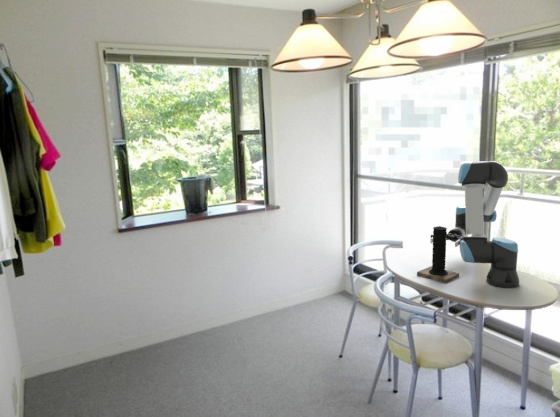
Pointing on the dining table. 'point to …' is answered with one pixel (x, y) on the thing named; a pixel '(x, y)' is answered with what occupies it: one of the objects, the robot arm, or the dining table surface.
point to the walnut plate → (442, 279)
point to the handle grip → (439, 251)
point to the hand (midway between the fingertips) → (443, 242)
